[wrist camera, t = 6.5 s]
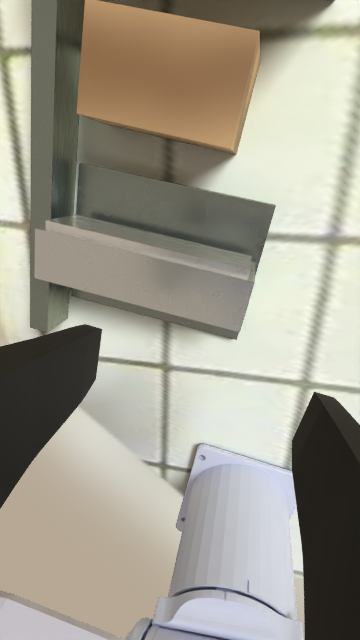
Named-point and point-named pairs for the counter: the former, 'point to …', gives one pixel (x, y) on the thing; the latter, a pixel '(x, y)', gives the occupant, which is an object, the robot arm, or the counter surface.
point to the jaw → (146, 269)
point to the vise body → (111, 178)
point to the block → (167, 74)
